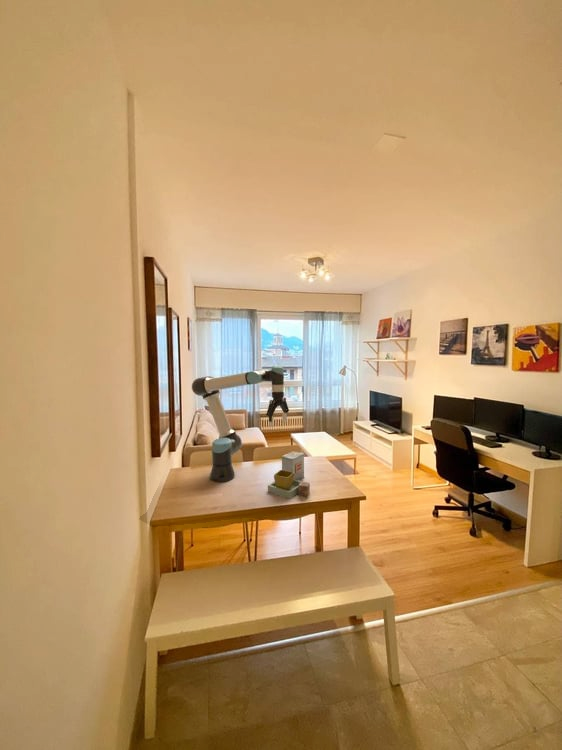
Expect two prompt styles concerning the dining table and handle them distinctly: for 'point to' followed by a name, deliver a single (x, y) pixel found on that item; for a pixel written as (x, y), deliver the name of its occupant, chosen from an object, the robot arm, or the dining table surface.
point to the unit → (294, 464)
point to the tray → (285, 493)
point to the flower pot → (284, 479)
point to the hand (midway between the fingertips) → (278, 424)
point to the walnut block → (304, 489)
